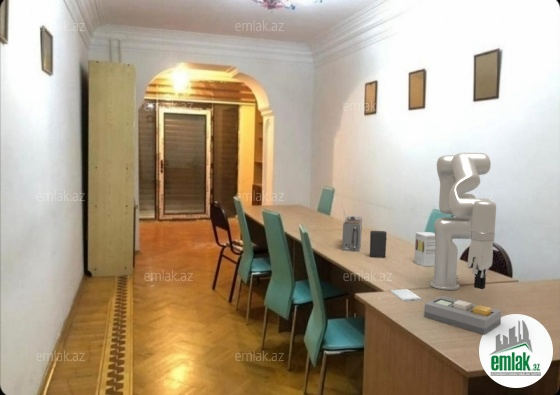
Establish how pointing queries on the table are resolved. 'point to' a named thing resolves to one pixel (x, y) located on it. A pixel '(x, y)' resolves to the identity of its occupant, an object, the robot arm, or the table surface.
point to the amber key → (482, 310)
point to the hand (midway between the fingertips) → (479, 287)
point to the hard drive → (405, 295)
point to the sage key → (444, 302)
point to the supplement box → (425, 249)
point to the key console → (462, 316)
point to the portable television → (352, 233)
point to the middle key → (462, 305)
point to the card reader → (378, 244)
